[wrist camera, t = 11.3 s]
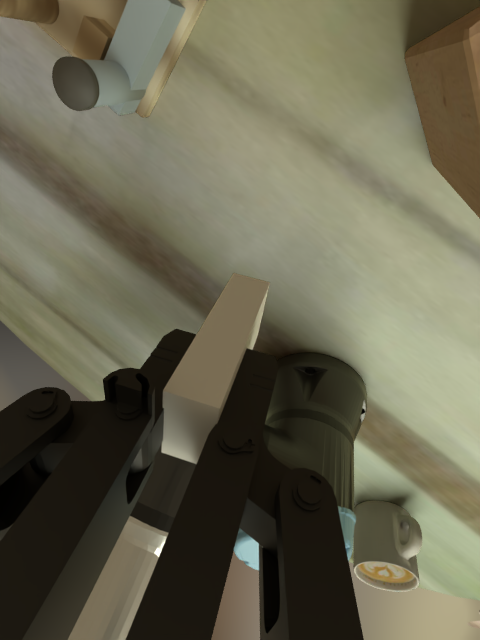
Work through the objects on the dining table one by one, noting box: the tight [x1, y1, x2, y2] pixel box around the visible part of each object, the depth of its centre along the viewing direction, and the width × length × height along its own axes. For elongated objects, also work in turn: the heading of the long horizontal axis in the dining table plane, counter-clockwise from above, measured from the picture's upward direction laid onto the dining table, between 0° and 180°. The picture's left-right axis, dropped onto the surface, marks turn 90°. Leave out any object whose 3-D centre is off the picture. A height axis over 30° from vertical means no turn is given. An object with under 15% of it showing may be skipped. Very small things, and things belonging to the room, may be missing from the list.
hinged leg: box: [52, 0, 186, 115], centre depth 28 cm, size 3×10×9 cm, turn 141°
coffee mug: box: [354, 501, 422, 592], centre depth 60 cm, size 13×10×10 cm
